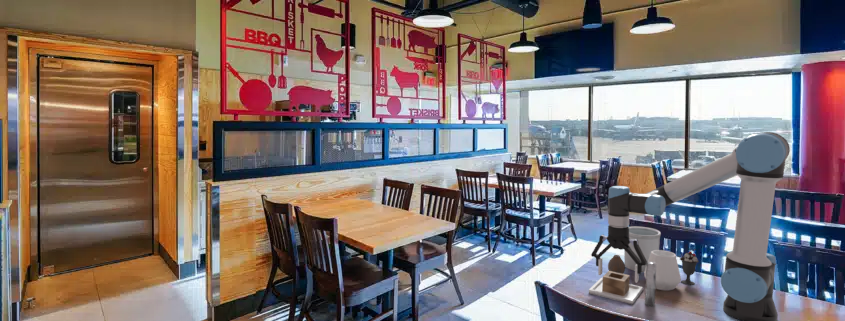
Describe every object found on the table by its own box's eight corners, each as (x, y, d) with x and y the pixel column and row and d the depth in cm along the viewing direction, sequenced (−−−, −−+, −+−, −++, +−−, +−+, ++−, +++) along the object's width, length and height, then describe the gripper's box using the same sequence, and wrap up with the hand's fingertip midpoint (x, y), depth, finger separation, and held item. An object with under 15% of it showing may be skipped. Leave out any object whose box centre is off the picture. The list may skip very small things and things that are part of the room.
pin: (655, 304, 156) (657, 262, 155) (653, 307, 154) (655, 265, 152) (645, 301, 158) (647, 261, 157) (643, 304, 156) (645, 263, 154)
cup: (636, 283, 176) (637, 251, 174) (656, 277, 182) (658, 246, 180) (667, 295, 164) (669, 261, 162) (687, 288, 170) (689, 255, 169)
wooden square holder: (629, 289, 168) (629, 275, 167) (623, 296, 162) (624, 281, 161) (608, 284, 173) (608, 270, 172) (602, 291, 167) (602, 276, 166)
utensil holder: (645, 275, 184) (647, 237, 182) (615, 265, 197) (617, 229, 195) (665, 269, 191) (667, 232, 189) (635, 259, 204) (637, 224, 202)
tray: (642, 290, 169) (642, 286, 168) (632, 304, 156) (632, 300, 156) (601, 280, 179) (601, 277, 179) (588, 293, 167) (588, 289, 166)
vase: (604, 273, 187) (604, 254, 186) (615, 270, 190) (615, 252, 189) (617, 278, 181) (617, 259, 180) (628, 276, 184) (629, 256, 183)
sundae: (701, 284, 174) (703, 249, 172) (690, 287, 171) (692, 251, 170) (686, 278, 180) (688, 245, 178) (675, 281, 177) (677, 247, 176)
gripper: (656, 227, 159) (655, 281, 161) (589, 219, 175) (589, 268, 177) (651, 232, 154) (650, 287, 156) (583, 223, 170) (583, 274, 172)
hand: (618, 277), depth 166 cm, fingers open, 13 cm apart
